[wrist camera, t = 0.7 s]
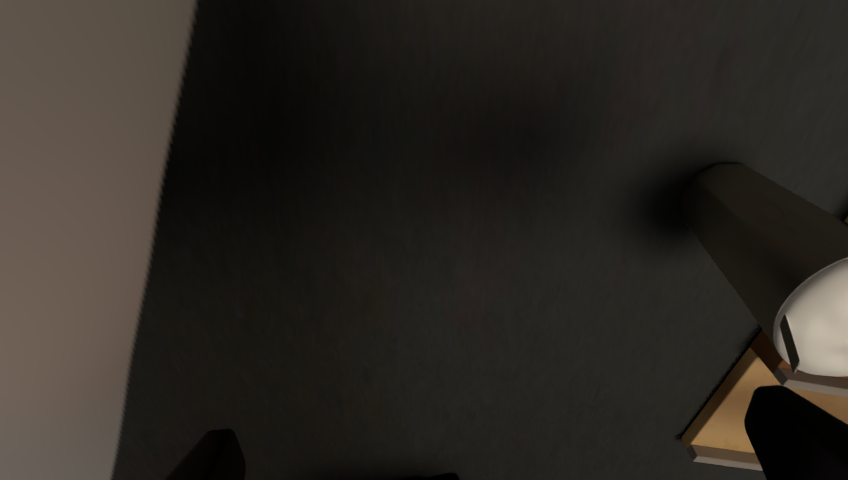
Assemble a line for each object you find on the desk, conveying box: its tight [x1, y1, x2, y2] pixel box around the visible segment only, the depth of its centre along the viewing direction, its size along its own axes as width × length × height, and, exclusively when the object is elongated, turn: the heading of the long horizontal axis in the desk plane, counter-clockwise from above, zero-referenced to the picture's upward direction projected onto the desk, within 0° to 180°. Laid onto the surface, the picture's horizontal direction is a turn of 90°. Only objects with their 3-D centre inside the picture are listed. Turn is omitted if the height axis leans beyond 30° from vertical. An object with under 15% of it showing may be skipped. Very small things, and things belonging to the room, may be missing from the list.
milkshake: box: [681, 164, 848, 377], centre depth 19 cm, size 5×5×10 cm
